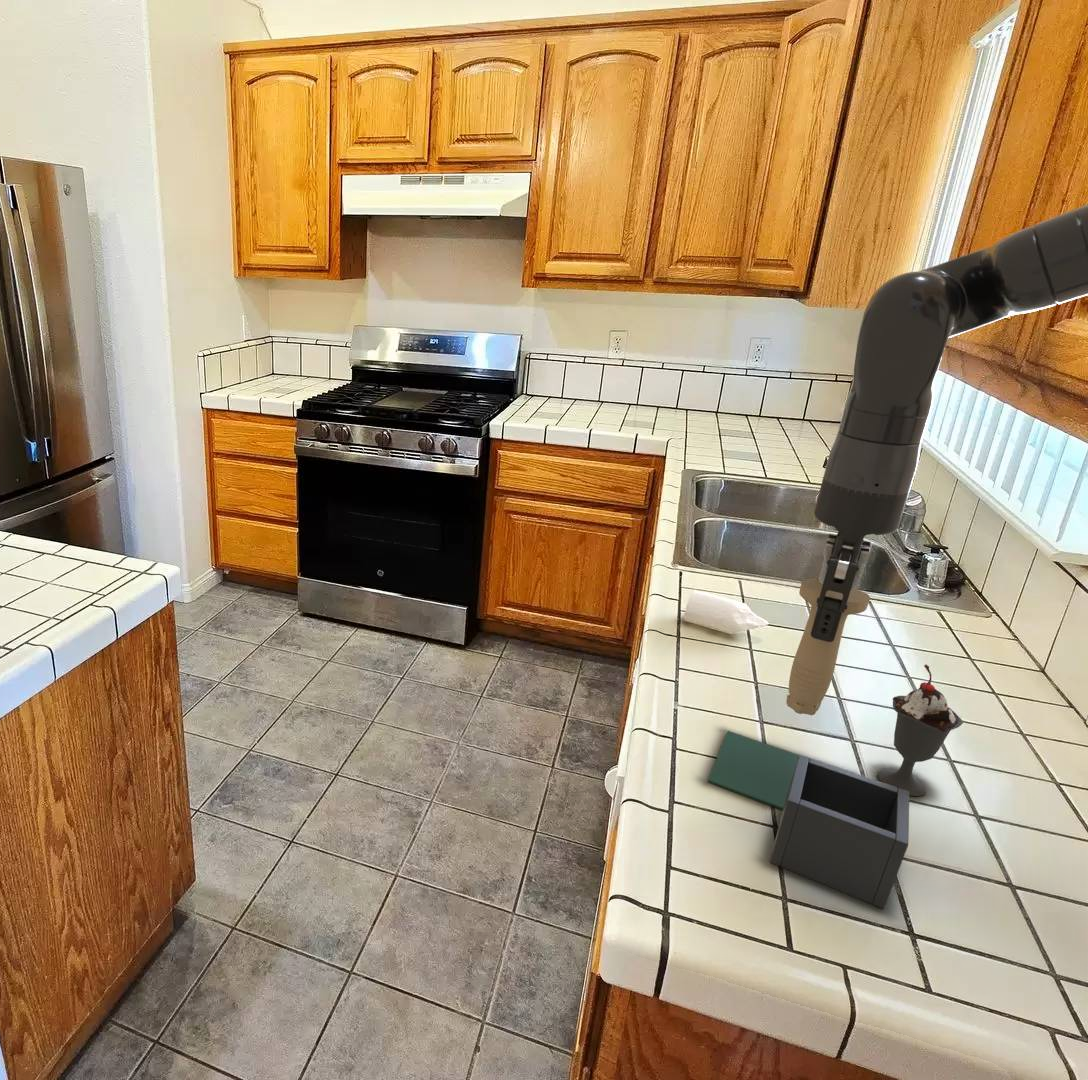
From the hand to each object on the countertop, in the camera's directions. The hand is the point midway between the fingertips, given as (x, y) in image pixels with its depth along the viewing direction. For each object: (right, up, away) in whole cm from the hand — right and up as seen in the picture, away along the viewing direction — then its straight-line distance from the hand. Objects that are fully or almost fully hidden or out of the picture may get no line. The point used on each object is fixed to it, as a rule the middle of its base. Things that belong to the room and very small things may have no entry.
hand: (824, 628), depth 82 cm
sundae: (+14, -19, +8) cm, 25 cm away
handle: (0, -10, +4) cm, 11 cm away
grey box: (-2, -23, -4) cm, 24 cm away
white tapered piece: (+9, -6, +42) cm, 43 cm away
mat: (-1, -19, +8) cm, 20 cm away
